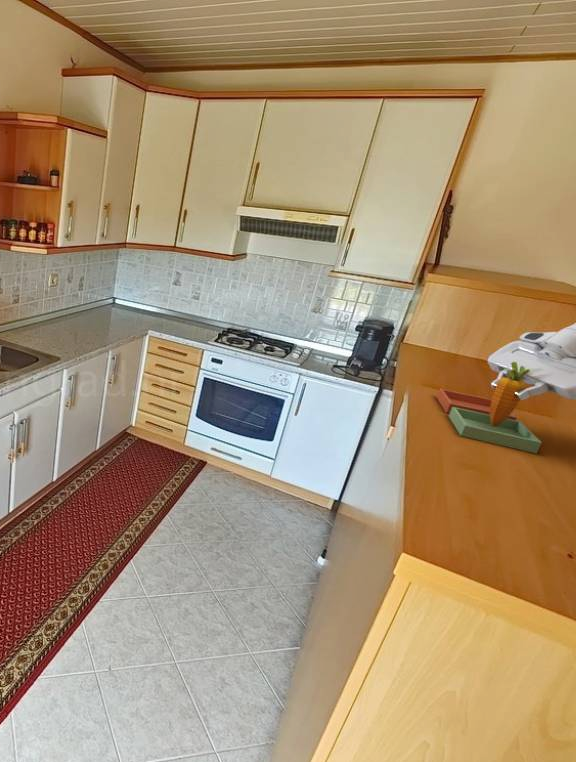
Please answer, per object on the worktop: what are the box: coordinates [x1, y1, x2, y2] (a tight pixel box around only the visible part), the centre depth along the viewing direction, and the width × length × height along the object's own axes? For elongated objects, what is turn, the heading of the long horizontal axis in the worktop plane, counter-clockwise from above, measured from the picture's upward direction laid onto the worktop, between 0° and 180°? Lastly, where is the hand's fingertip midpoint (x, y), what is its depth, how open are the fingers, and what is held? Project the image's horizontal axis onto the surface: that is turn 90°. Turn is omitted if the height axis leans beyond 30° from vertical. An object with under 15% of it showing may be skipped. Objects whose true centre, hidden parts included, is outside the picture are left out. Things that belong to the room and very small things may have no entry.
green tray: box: [448, 407, 542, 454], centre depth 110 cm, size 13×13×3 cm
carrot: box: [490, 362, 530, 427], centre depth 108 cm, size 5×5×15 cm
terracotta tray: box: [436, 388, 518, 421], centre depth 124 cm, size 13×13×3 cm
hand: (505, 392), depth 107 cm, fingers closed on carrot, 4 cm apart
